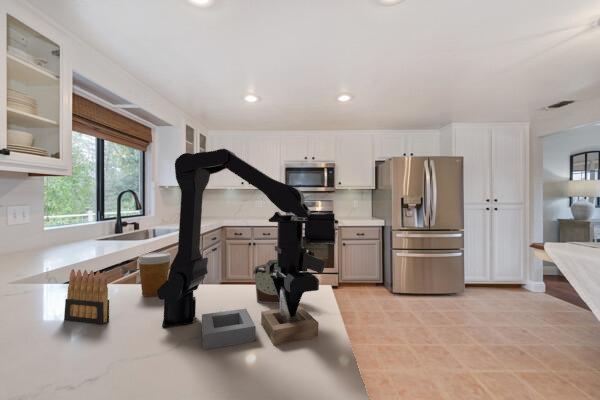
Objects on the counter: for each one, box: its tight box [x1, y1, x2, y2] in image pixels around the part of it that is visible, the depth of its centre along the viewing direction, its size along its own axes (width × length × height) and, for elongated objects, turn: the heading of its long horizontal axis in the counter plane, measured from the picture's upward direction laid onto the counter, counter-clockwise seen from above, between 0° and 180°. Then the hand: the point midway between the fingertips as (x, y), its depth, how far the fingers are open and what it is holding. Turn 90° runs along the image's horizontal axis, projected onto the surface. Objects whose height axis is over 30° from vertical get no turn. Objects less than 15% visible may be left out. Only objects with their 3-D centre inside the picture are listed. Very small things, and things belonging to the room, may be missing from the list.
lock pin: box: [279, 289, 298, 324], centre depth 59 cm, size 4×4×9 cm
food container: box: [252, 263, 280, 304], centre depth 79 cm, size 12×6×10 cm, turn 84°
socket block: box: [201, 308, 256, 351], centre depth 57 cm, size 10×10×3 cm
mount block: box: [260, 305, 320, 346], centre depth 59 cm, size 10×10×3 cm
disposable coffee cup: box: [137, 251, 172, 297], centre depth 82 cm, size 10×10×12 cm
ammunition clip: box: [63, 268, 110, 326], centre depth 62 cm, size 11×2×12 cm, turn 80°
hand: (288, 312), depth 59 cm, fingers open, 5 cm apart
